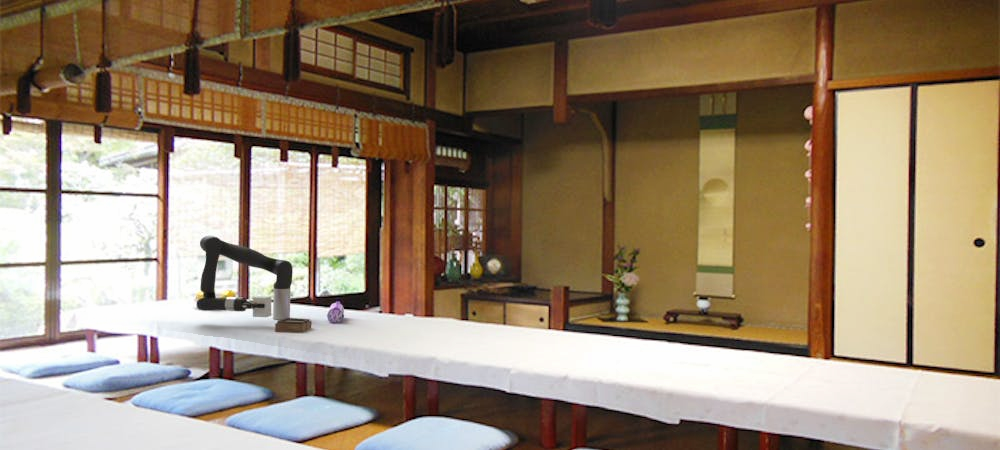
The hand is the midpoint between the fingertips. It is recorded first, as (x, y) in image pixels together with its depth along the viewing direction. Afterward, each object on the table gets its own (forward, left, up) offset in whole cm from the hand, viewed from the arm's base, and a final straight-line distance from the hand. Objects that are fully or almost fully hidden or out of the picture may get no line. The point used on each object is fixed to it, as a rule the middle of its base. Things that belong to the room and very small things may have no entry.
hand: (266, 305), depth 374 cm
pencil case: (-28, +29, -12) cm, 42 cm away
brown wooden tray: (+7, +17, -11) cm, 22 cm away
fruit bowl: (-62, -58, -12) cm, 85 cm away
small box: (0, -2, -6) cm, 7 cm away
